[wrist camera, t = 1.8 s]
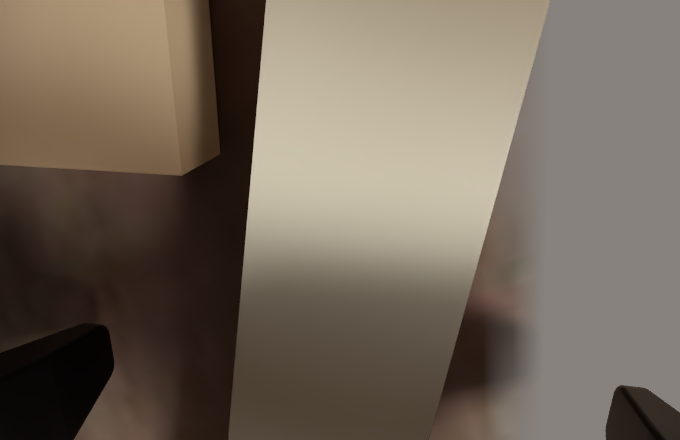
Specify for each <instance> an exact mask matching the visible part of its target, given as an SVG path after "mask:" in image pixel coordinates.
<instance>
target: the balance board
mask: <svg viewBox="0 0 680 440" xmlns="http://www.w3.org/2000/svg"><path fill="white" fill-rule="evenodd" d="M218 155H220V142H219V129H218V116H217V103H216V89H215V76H214V63H213V50H212V37H211V24H210V10H209V0H0V165H12V166H29V167H45V168H62V169H79V170H96V171H112V172H129V173H146V174H163V175H180V176H182V175H184V174H186V173H188V172H189V171H191V170H193V169H195V168H196V167H198V166H200V165H202V164H204V163H205V162H207V161H209V160H211V159H212V158H214V157H216V156H218Z"/></svg>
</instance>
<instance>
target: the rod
mask: <svg viewBox="0 0 680 440" xmlns="http://www.w3.org/2000/svg"><path fill="white" fill-rule="evenodd" d="M549 4H550V0H266V8H265V19H264V31H263V42H262V54H261V65H260V77H259V88H258V100H257V111H256V123H255V134H254V146H253V157H252V169H251V181H250V192H249V204H248V215H247V227H246V238H245V250H244V261H243V273H242V284H241V296H240V307H239V319H238V330H237V342H236V353H235V365H234V377H233V388H232V400H231V411H230V423H229V434H228V440H429V437H430V434H431V430H432V426H433V423H434V419H435V416H436V412H437V408H438V405H439V401H440V398H441V394H442V390H443V387H444V383H445V379H446V376H447V372H448V369H449V365H450V361H451V358H452V354H453V351H454V347H455V343H456V340H457V336H458V333H459V329H460V325H461V322H462V318H463V314H464V311H465V307H466V304H467V300H468V296H469V293H470V289H471V286H472V282H473V278H474V275H475V271H476V267H477V264H478V260H479V257H480V253H481V249H482V246H483V242H484V239H485V235H486V231H487V228H488V224H489V221H490V217H491V213H492V210H493V206H494V202H495V199H496V195H497V192H498V188H499V184H500V181H501V177H502V174H503V170H504V166H505V163H506V159H507V156H508V152H509V148H510V145H511V141H512V137H513V134H514V130H515V127H516V123H517V119H518V116H519V112H520V109H521V105H522V101H523V98H524V94H525V91H526V87H527V83H528V80H529V76H530V72H531V69H532V65H533V62H534V58H535V54H536V51H537V47H538V44H539V40H540V36H541V33H542V29H543V25H544V22H545V18H546V15H547V11H548V7H549Z"/></svg>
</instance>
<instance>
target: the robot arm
mask: <svg viewBox="0 0 680 440" xmlns="http://www.w3.org/2000/svg"><path fill="white" fill-rule="evenodd" d="M113 369H114V356H113V350H112V345H111V339H110V333H109V330H108V328H107V327H106V326H104V325H100V324H92V323H83V324H80V325H77V326H74V327H71V328H69V329H66V330H63V331H60V332H57V333H55V334H52V335H49V336H46V337H44V338H41V339H38V340H35V341H32V342H30V343H27V344H24V345H21V346H18V347H16V348H13V349H10V350H7V351H4V352H2V353H0V440H74V438H75V436H76V435H77V433H78V432H79V430H80V428H81V426H82V425H83V423H84V421H85V420H86V418H87V416H88V414H89V413H90V411H91V409H92V408H93V406H94V404H95V403H96V401H97V399H98V397H99V396H100V394H101V392H102V391H103V389H104V387H105V385H106V384H107V382H108V380H109V379H110V377H111V375H112V372H113ZM606 440H680V413H679V412H678V411H677V410H675V409H674V408H673V407H671V406H670V405H669V404H667V403H666V402H664V401H663V400H662V399H660V398H659V397H657V396H656V395H655V394H653V393H652V392H651V391H649V390H648V389H645V388H641V387H632V386H624V385H621V386H619V387H617V388H616V390H615V391H614V395H613V399H612V403H611V407H610V411H609V416H608V420H607V424H606Z"/></svg>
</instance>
